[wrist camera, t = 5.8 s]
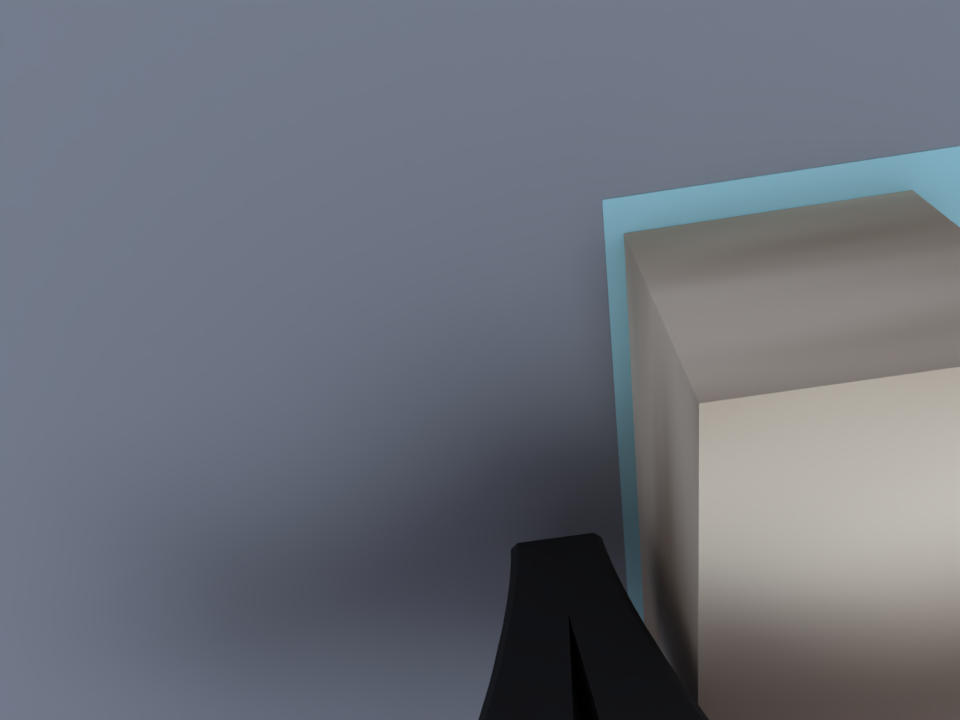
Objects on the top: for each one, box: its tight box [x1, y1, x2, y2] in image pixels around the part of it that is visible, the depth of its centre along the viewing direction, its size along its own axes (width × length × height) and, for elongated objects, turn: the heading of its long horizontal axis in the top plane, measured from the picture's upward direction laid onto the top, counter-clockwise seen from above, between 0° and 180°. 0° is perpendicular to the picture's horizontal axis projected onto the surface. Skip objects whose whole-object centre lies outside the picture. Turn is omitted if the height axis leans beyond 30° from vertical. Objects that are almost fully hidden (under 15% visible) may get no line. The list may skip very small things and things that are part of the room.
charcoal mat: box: [0, 0, 960, 720], centre depth 13 cm, size 18×26×1 cm
